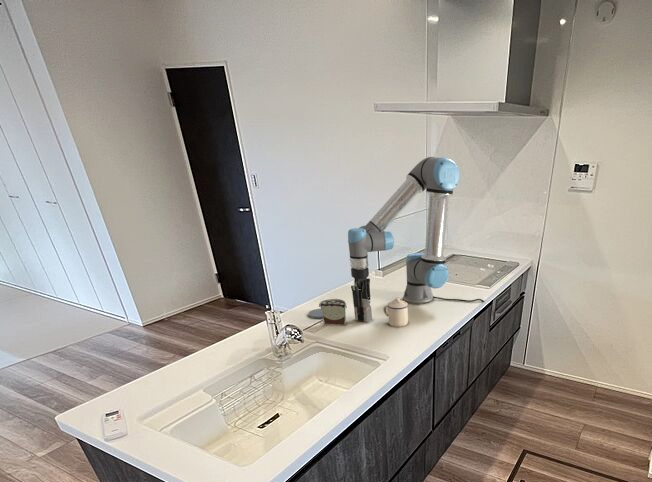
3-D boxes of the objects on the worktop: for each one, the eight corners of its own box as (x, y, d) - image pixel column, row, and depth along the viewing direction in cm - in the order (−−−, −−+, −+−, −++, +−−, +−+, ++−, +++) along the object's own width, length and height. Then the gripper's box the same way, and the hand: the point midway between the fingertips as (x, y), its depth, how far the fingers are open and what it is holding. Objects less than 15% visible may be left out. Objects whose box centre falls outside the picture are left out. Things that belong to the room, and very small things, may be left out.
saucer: (337, 312, 204) (336, 310, 204) (324, 320, 196) (324, 317, 195) (317, 309, 207) (316, 307, 207) (304, 316, 199) (303, 314, 198)
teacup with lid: (412, 321, 195) (411, 297, 189) (401, 328, 188) (400, 302, 182) (389, 317, 200) (388, 292, 194) (378, 323, 193) (377, 298, 187)
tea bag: (359, 317, 199) (358, 296, 194) (372, 319, 196) (370, 298, 191) (355, 320, 196) (353, 298, 191) (367, 322, 194) (365, 301, 188)
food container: (351, 320, 196) (349, 299, 190) (348, 325, 190) (346, 303, 185) (325, 319, 196) (322, 297, 191) (321, 324, 191) (318, 302, 186)
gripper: (361, 261, 192) (364, 311, 204) (341, 271, 178) (347, 324, 190) (376, 263, 190) (379, 313, 202) (357, 273, 176) (362, 326, 188)
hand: (363, 318), depth 196 cm, fingers closed on tea bag, 4 cm apart
